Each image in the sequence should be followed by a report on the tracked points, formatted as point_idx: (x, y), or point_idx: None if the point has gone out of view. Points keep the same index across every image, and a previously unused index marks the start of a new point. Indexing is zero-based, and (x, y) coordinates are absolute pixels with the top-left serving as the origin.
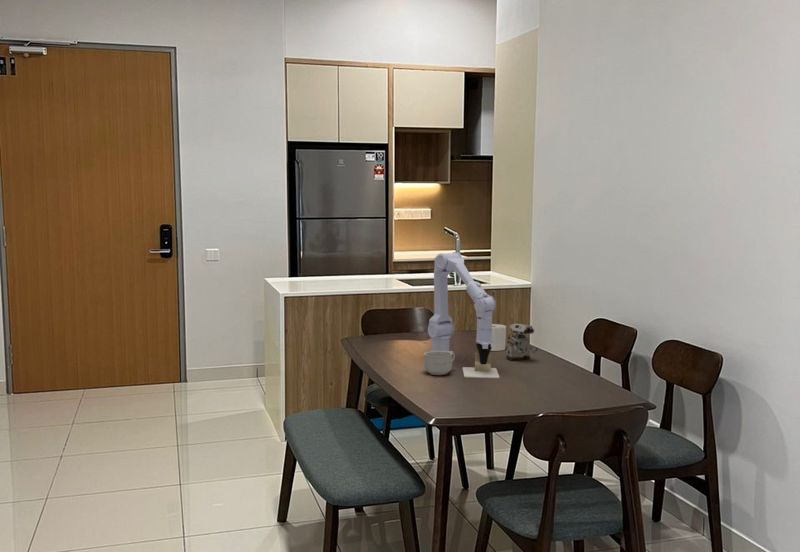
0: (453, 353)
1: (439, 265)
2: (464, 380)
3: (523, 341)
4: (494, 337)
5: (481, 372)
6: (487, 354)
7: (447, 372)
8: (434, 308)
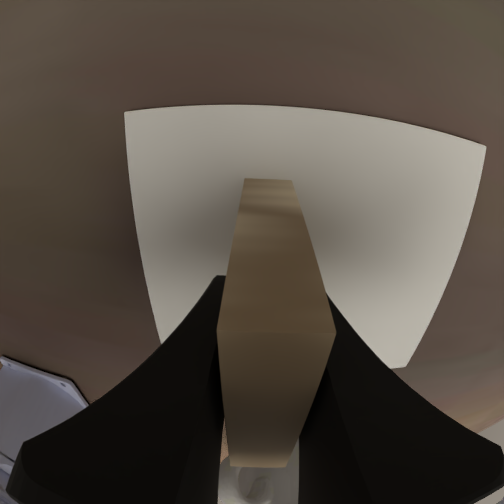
0: (243, 496)
1: None
2: (452, 355)
3: None
4: None
5: (324, 271)
6: (392, 388)
7: None
8: None
